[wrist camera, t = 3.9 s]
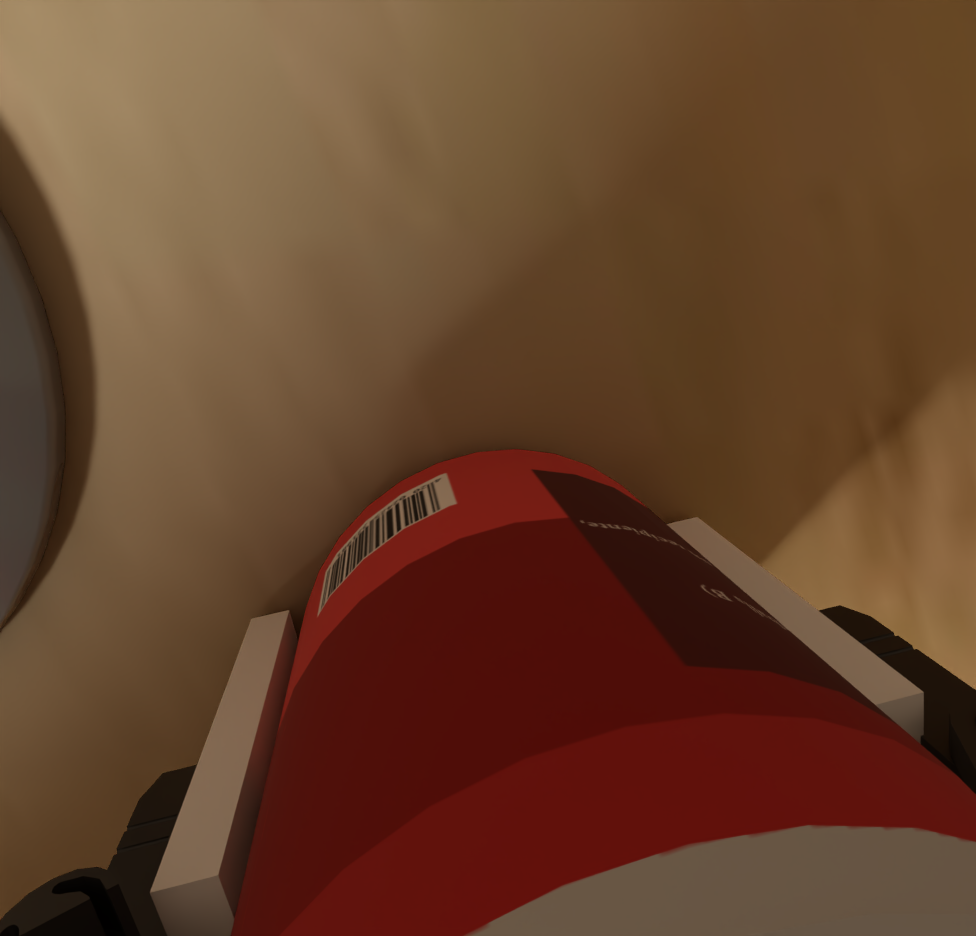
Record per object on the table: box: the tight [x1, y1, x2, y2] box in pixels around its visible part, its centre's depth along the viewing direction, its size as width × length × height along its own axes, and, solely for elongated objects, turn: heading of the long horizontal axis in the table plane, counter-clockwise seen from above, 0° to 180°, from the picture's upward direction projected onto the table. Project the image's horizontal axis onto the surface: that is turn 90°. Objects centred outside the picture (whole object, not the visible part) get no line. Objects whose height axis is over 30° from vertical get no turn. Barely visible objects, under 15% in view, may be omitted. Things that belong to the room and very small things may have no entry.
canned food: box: [231, 449, 976, 936], centre depth 10 cm, size 8×8×11 cm
